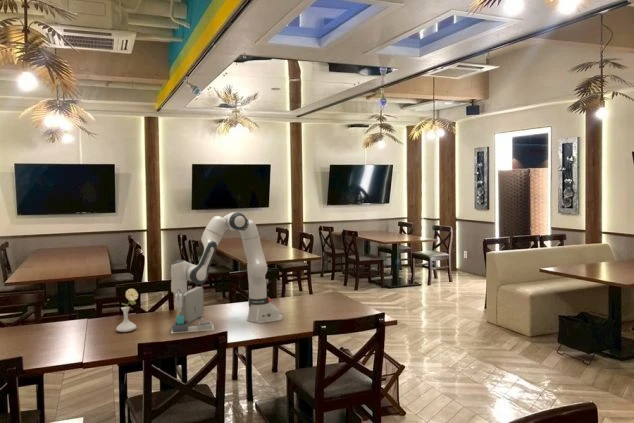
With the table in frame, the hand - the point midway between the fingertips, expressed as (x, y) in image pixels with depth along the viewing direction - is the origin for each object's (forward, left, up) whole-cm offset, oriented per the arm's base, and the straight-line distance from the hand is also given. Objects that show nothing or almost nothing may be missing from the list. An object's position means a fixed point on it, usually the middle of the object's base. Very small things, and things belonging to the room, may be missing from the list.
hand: (179, 311), depth 286 cm
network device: (-6, -21, -13) cm, 25 cm away
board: (-7, 0, -12) cm, 14 cm away
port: (0, 0, -11) cm, 11 cm away
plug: (0, 0, -11) cm, 11 cm away
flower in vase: (+31, -13, -12) cm, 36 cm away
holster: (-14, 0, -11) cm, 18 cm away
